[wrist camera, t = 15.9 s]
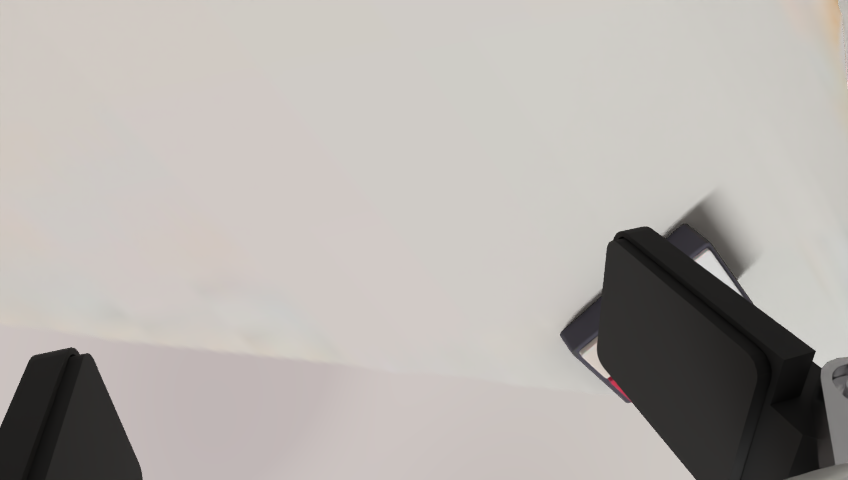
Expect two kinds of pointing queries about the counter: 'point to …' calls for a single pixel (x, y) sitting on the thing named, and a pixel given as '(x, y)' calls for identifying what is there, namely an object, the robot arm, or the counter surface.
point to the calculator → (586, 326)
